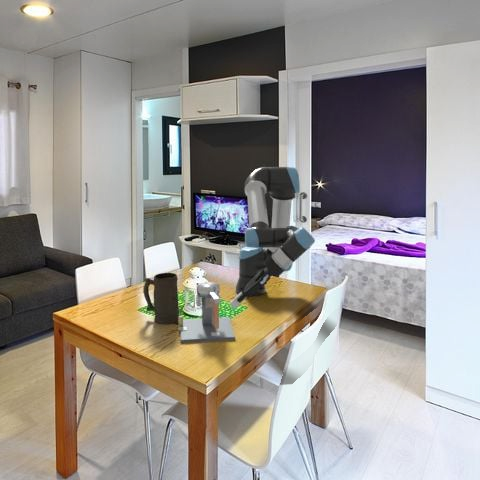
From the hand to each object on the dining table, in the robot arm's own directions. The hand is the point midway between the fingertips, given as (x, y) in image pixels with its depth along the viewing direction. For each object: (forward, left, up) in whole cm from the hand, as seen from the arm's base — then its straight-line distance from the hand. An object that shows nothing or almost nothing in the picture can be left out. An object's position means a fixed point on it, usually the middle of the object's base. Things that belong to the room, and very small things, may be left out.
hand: (232, 306), depth 153 cm
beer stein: (+27, -22, -13) cm, 37 cm away
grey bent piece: (+7, -8, -8) cm, 13 cm away
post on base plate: (+9, -8, -13) cm, 18 cm away
